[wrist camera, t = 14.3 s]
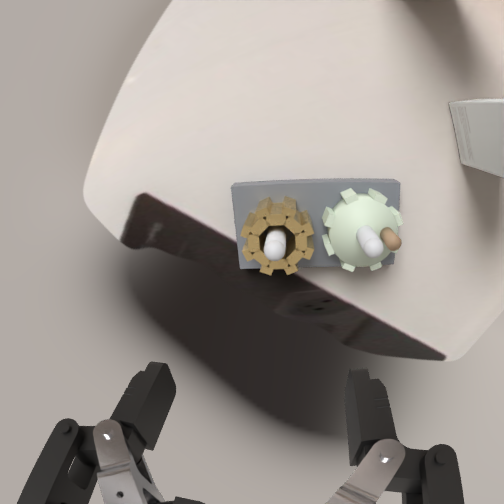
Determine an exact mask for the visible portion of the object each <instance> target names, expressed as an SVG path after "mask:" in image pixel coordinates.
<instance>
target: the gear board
mask: <svg viewBox="0 0 504 504" xmlns="http://www.w3.org/2000/svg"><path fill="white" fill-rule="evenodd" d="M231 191H232V201H233V210H234V219H235V228H236V237H237V246H238V254H239V263H240V269H252V268H261V264H260V263H259V262H258V261H256V260H255V259H252V260H250V261H248V262H247V260H246V258H245V257H244V255H243V253H242V250H243V247H244V244H245V242H246V239H247V238H244V237H242V236H240V235H241V231H242V228H243V225H244V223H245V221H246V219H247V217H248V215H249V212H251V213H254V214H255V211H256V208H257V206H258V204H259V201H261V200H263V199H265V198H267V197H270V198H271V200H272V202H273V203H282V202H283V200H284V197H285V196H287V197H290V198H292V199H295V200H296V209H297V210H298V211H299V212H300V213H301V212H303V211H305V210H307V211H308V213H309V215H310V218H311V220H312V225H313V230H314V234H312V239H313V244H314V251H313V254H312V256H311V258H310V260H308V259H305V258H303V257H302V258H301V259H300V260H299V261H298V267H330V266H342V268H343V269H346V270H349V271H351V272H353V271H354V269H355V266H356V267H367V266H369V267H370V269H371V271H374V270H376V269H378V268H381V267H382V265H387V264H394V258H395V253H397V251H398V249H399V248H400V246H401V239H400V238H399V237H398V226H401V225H403V221H402V218H401V214H400V212H399V201H400V182H398V181H396V180H394V179H301V180H276V181H257V182H242V183H234V184H233V185H232V186H231ZM264 235H265V236H266V241H265V246H264V254H265V256H266V257H267V258H268V259H269V260H271V261H278V260H280V259H282V258H283V257H284V255H285V250H286V242H287V241H288V240H289V239H290V238H291V237H292V236H293V235H294V233H292V232H291V231H290V230H289V229H288V228H287V227H286V226H284V225H276V226H268V227H267V228H266V229H265V230H264Z"/></svg>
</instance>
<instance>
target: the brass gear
mask: <svg viewBox="0 0 504 504" xmlns="http://www.w3.org/2000/svg"><path fill="white" fill-rule="evenodd" d="M276 225H284V226H286V227H287V228H288V229H289V230H290V231H291V232H292V233H294V235H293V236H292V237H291V238H290V239H289V240H288V241H287V242H286V250H285V255H284V257H283V258H282V259H280V260H278V261H271V260H269V259H268V258H267V257H266V256H265V254H264V246H265V241H266V236H265V235H264V230H265V229H266V228H267V227H268V226H276ZM312 234H314V230H313V225H312V220H311V218H310V215H309V213H308V211H307V210H305V211H303V212H301V213H300V212H299V211H298V210H297V209H296V200H295V199H292V198H290V197H287V196H285V197H284V200H283V202H282V203H273V202H272V200H271V198H270V197H267V198H265V199H263V200H261V201H259V204H258V206H257V208H256V211H255V214H254V213H251V212H249V215H248V217H247V219H246V221H245V223H244V225H243V228H242V231H241V235H240V236H242V237H244V238H247V239H246V242H245V244H244V247H243V250H242V253H243V255H244V257H245V258H246V260H247V262H248V261H250V260H252V259H255V260H256V261H258V262H259V263H260V264H261V269H260V272H262V273H265V274H268V275H271V274H272V272H273V269H284V270H285V272H286V274H287V275H289V274H291V273H294V272H297V271H298V261H299V260H300V259H301V258H302V257H303V258H305V259H308V260H310V258H311V256H312V254H313V251H314V244H313V239H312Z"/></svg>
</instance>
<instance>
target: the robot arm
mask: <svg viewBox="0 0 504 504" xmlns="http://www.w3.org/2000/svg"><path fill="white" fill-rule="evenodd" d="M175 395H176V385H175V382H174V380H173V377H172V374H171V372H170V369H169V367H168V365H167V364H166V363H158V362H150V363H149V364H148V366H147V367H146V370H145V371H140V372H138V373H137V374H136V375H135V376H134V377H133V378H132V380H131V382H130V383H129V385H128V388H126V390H125V392H124V394H123V396H122V397H121V400H120V401H119V403H118V405H117V407H116V408H115V410H114V412H113V414H112V416H111V417H110V419H107V420H103V421H101V422H99V423H98V424H97V425H96V426H79V425H78V424H77V422H76V421H75V420H73V419H69V418H68V419H63V420H61V421H59V422H58V423H57V425H56V426H55V428H54V430H53V432H52V434H51V435H50V437H49V439H48V441H47V443H46V444H45V446H44V448H43V450H42V452H41V454H40V456H39V458H38V460H37V462H36V464H35V466H34V468H33V470H32V472H31V474H30V476H29V478H28V480H27V482H26V484H25V486H24V489H23V491H22V493H21V495H20V498H19V500H18V502H17V504H88V503H89V500H90V498H91V495H92V493H93V490H94V487H95V485H96V482H97V480H98V482H99V486H100V489H101V493H102V497H103V500H104V503H105V504H205V503H202V502H200V501H194V500H190V499H185V498H181V497H175V500H174V501H166V502H165V500H164V498H163V496H162V495H161V493H160V492H159V490H158V489H157V487H156V485H155V483H154V481H153V478H152V476H151V473H150V471H149V468H148V466H147V463H146V461H145V458H144V456H143V452H144V449H148V450H154V447H155V444H156V442H157V439H158V437H159V435H160V432H161V430H162V427H163V425H164V422H165V420H166V417H167V415H168V412H169V410H170V407H171V405H172V402H173V400H174V397H175ZM344 401H345V412H346V422H347V432H348V445H349V459H350V466H355V465H357V468H356V470H355V471H354V472H353V473H352V475H351V476H350V477H349V478H348V480H347V481H346V482H345V483H344V484H343V486H341V487H340V488H339V489H338V490H337V491H336V492H335V494H334V495H333V496H332V497H331V498H330V499H329V500H328V501H327V502H326V503H325V504H376V502H377V500H378V499H379V497H380V496H381V494H382V493H383V492H384V491H393V492H402V504H464V498H463V490H462V484H461V477H460V472H459V466H458V461H457V456H456V453H455V451H454V450H453V449H452V448H451V447H450V446H448V445H445V444H439V445H435V446H433V447H432V448H430V449H429V450H417V449H410V448H407V447H405V446H404V445H402V444H401V443H400V442H399V440H398V438H397V436H396V432H395V427H394V422H393V417H392V413H391V408H390V404H389V400H388V395H387V391H386V388H385V386H384V385H383V384H382V383H381V381H380V380H379V379H370V378H369V372H368V369H367V368H359V369H358V368H357V369H350V370H349V374H348V379H347V384H346V388H345V399H344ZM74 457H75V459H74ZM73 459H74V461H73ZM72 461H73V464H72ZM71 464H72V466H71ZM70 466H71V468H70ZM69 468H70V470H69ZM68 470H69V472H68Z"/></svg>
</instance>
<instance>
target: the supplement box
mask: <svg viewBox="0 0 504 504" xmlns="http://www.w3.org/2000/svg"><path fill="white" fill-rule="evenodd" d="M449 107H450V111H451V115H452V119H453V124H454V129H455V133H456V139H457V144H458V149H459V155H460V160H461V163H462V164H463V165H467V166H470V167H473V168H476V169H479V170H482V171H485V172H488V173H490V174H493V175H496V176H499V177H502V178H504V98H488V99H472V100H464V101H457V102H450V103H449Z"/></svg>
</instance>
